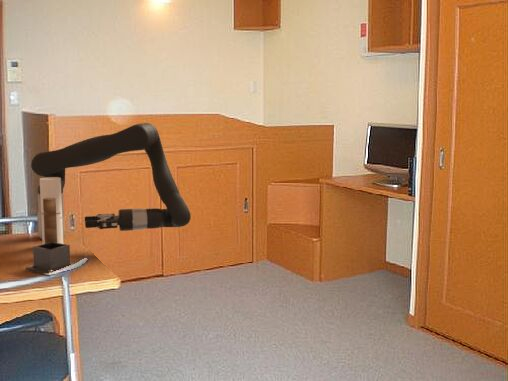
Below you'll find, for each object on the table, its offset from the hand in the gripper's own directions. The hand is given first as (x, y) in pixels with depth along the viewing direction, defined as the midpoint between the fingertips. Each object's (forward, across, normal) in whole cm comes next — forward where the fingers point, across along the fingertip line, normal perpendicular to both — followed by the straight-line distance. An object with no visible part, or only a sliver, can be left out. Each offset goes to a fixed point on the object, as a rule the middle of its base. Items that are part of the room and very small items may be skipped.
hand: (84, 222), depth 208 cm
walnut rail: (+11, 0, +11) cm, 16 cm away
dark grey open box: (+11, +16, +12) cm, 22 cm away
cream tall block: (+11, -15, +12) cm, 22 cm away
